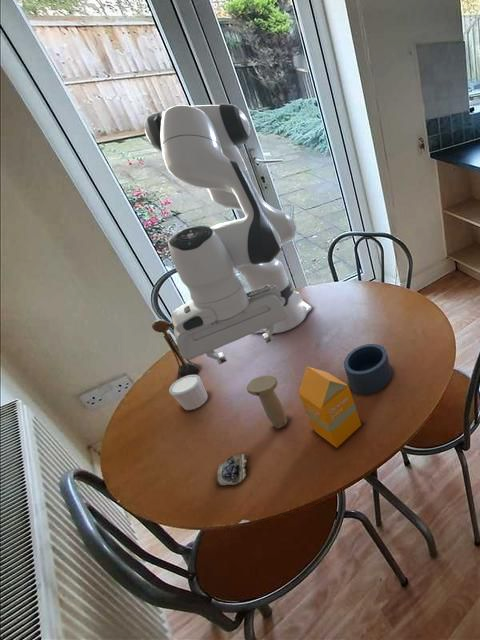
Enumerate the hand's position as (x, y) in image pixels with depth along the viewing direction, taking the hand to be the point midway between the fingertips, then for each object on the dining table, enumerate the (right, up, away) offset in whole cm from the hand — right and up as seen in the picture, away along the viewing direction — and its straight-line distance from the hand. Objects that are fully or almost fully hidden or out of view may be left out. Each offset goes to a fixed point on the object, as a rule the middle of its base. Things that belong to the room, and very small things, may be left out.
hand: (246, 350), depth 90 cm
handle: (0, -22, +13) cm, 26 cm away
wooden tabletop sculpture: (-36, -13, +29) cm, 48 cm away
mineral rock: (-4, -29, +2) cm, 29 cm away
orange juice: (+16, -23, +12) cm, 30 cm away
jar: (+19, -14, +26) cm, 35 cm away
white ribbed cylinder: (-27, -19, +20) cm, 38 cm away
